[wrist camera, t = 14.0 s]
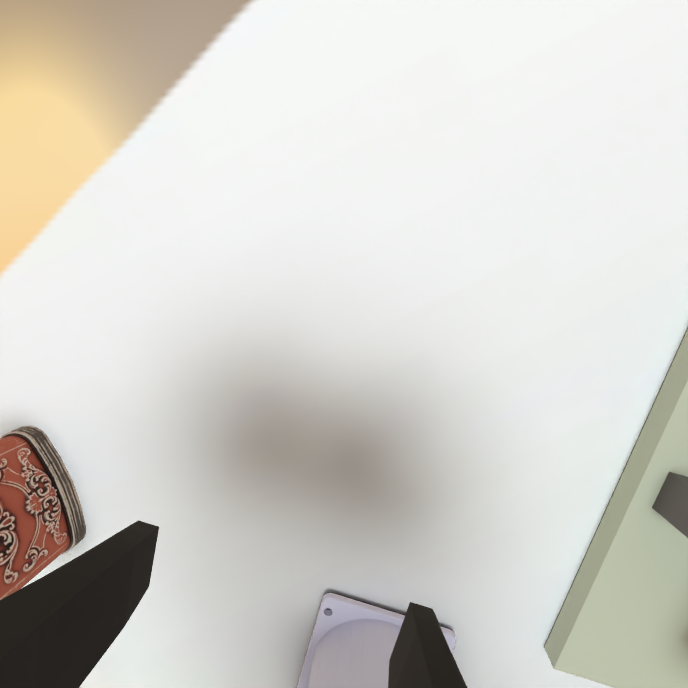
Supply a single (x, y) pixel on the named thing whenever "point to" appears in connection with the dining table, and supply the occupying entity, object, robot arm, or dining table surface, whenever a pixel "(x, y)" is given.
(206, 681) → the dining table surface
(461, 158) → the dining table surface
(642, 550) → the stand
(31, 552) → the lighter
